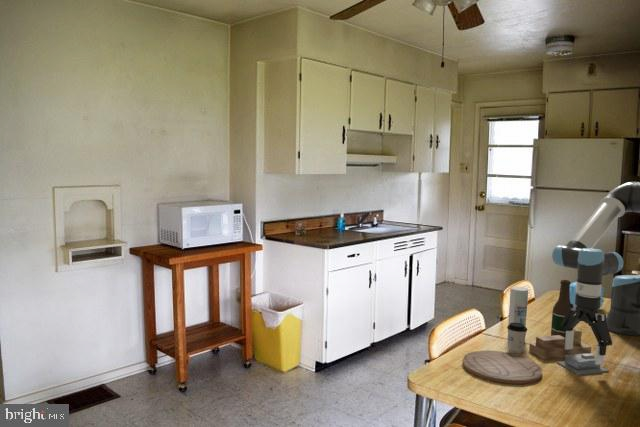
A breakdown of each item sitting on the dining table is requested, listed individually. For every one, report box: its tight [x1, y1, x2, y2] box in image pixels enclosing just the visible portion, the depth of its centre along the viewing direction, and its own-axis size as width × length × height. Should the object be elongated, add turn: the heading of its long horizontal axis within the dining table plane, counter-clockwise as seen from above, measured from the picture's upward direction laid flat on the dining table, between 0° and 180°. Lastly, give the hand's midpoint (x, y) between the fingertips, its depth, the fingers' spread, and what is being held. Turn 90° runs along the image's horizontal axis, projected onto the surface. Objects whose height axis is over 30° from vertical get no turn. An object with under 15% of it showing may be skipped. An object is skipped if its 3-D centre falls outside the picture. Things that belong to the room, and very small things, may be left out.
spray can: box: [507, 286, 529, 328], centre depth 200 cm, size 6×6×20 cm
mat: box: [556, 360, 609, 376], centre depth 174 cm, size 12×10×1 cm
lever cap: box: [564, 353, 601, 371], centre depth 174 cm, size 9×6×4 cm, turn 105°
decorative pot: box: [570, 281, 605, 310], centre depth 247 cm, size 16×16×14 cm
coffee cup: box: [506, 323, 528, 355], centre depth 187 cm, size 7×7×10 cm
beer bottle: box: [550, 279, 574, 337], centre depth 199 cm, size 8×8×24 cm
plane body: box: [528, 328, 592, 360], centre depth 186 cm, size 20×8×8 cm, turn 105°
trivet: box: [462, 350, 543, 386], centre depth 171 cm, size 25×25×2 cm
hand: (583, 356), depth 174 cm, fingers open, 13 cm apart
